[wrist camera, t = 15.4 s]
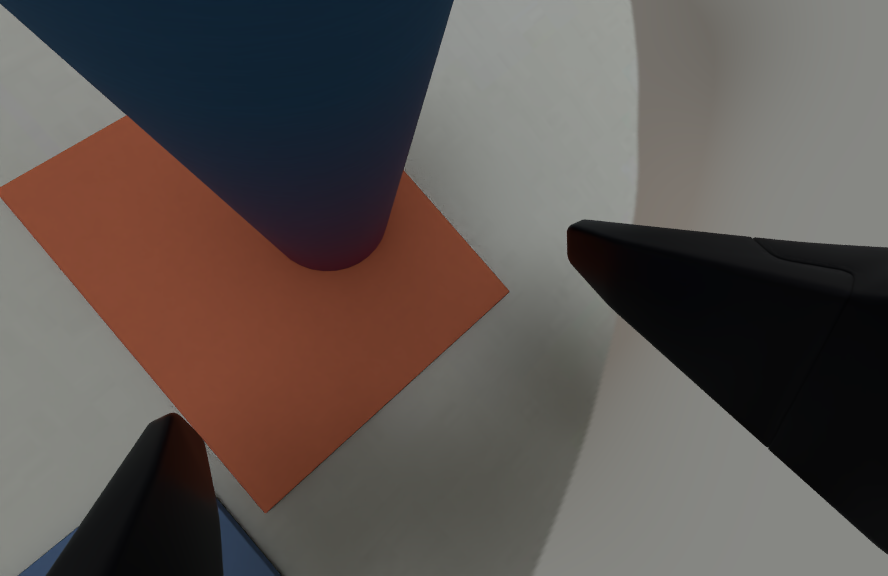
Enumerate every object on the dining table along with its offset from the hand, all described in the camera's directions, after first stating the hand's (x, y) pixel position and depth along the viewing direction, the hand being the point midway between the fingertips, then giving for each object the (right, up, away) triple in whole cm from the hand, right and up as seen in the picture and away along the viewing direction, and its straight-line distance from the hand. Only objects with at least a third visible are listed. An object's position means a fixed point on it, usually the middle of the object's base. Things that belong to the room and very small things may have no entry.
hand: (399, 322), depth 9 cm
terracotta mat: (-6, +2, +9) cm, 11 cm away
